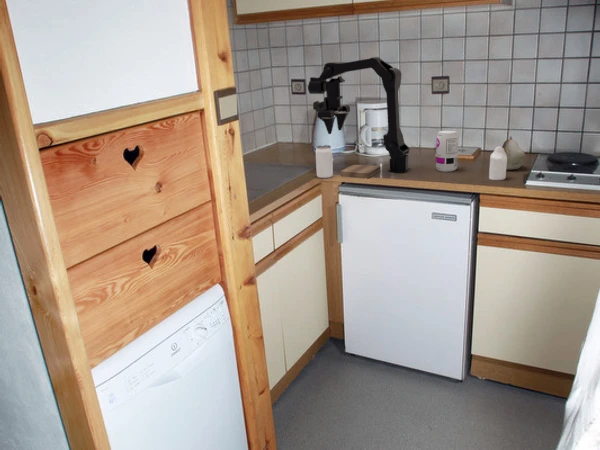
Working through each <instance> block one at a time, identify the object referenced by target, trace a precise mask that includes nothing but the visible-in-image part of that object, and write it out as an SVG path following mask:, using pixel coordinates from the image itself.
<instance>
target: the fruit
mask: <svg viewBox="0 0 600 450" xmlns="http://www.w3.org/2000/svg"><path fill="white" fill-rule="evenodd" d="M501 147H503V149H504V151H505V153H506V155H507V166H506V171H508V170H518V169H520V168H521V167H522V166H523V164H524V163H525V161H526V154H525V152H524V150H523V148H522V147H521V146H519V144H518V142H517V141H516V140H514V139H513V138H512V136H509V139H506V140H505V141H504V142H503V144H502V146H501Z"/></svg>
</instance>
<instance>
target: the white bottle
mask: <svg viewBox="0 0 600 450" xmlns="http://www.w3.org/2000/svg"><path fill="white" fill-rule="evenodd" d="M489 156H490V158H489V171H488V172H489V173H488V179H489V180H492V181H501V180H505V179H506V176H507V175H506V174H507V169H506V166H507V155H506V153H505V151H504V149H503V147H502V146H500V145H499V146H497V147H495V148H494V151H493V152H492V153H491V154H490V155H489Z"/></svg>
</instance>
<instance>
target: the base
mask: <svg viewBox="0 0 600 450" xmlns="http://www.w3.org/2000/svg"><path fill="white" fill-rule="evenodd" d="M380 172H381V166H379V165H378V166H377V165H367V164H364V165H363V164H352V165H351V164H350V166H348V167H346V168H344V169H342V170H340V177H345V178H346V177H347V178H348V177H349V178H358V179H359V178H360V179H371V178H372V177H374V176H375V175H377V174H379V173H380Z"/></svg>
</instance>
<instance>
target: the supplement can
mask: <svg viewBox="0 0 600 450" xmlns="http://www.w3.org/2000/svg"><path fill="white" fill-rule="evenodd" d="M435 149H436V151H435V169H436V170H438V172H444V173H445V172H453V171H456V170H457V169H458V158H459V157H458V155H459V134H458V131H456V130H449V129H447V130H439V131H438V132H437V134H436V145H435Z"/></svg>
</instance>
